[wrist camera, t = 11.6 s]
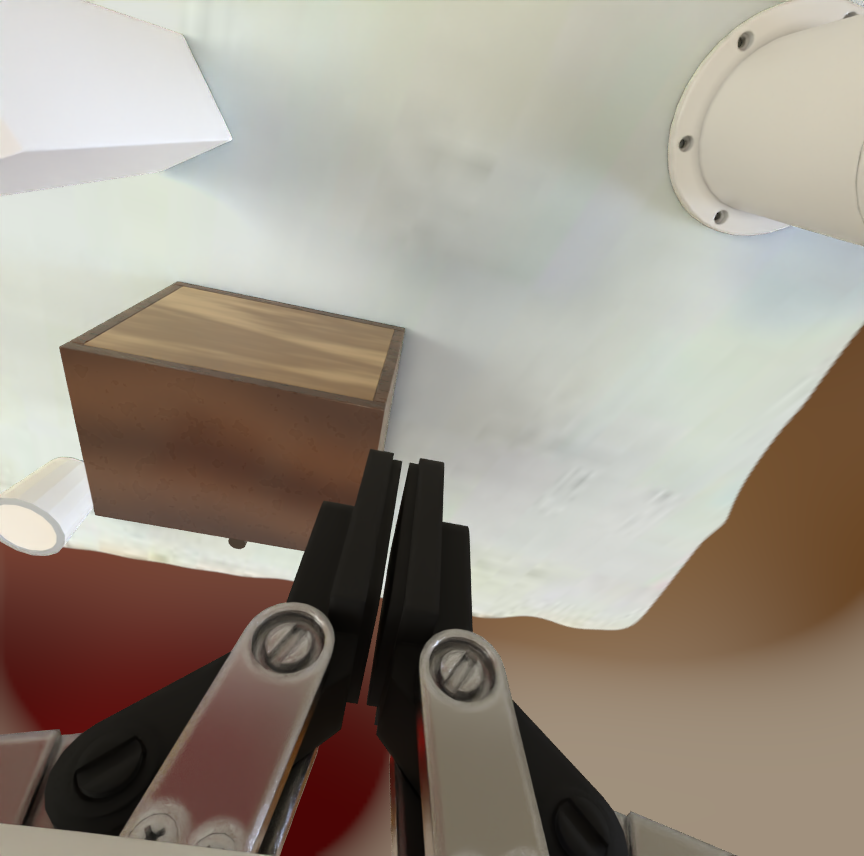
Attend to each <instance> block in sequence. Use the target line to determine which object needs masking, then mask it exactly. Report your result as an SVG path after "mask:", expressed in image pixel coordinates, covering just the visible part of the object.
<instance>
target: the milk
mask: <svg viewBox="0 0 864 856" xmlns="http://www.w3.org/2000/svg"><path fill="white" fill-rule="evenodd" d="M231 140H232V136H231V134H230V132H229V130H228V128H227V126H226V123H225V121H224V119H223V117H222V115H221V113H220V111H219V109H218V107H217V105H216V103H215V101H214V99H213V96H212V94H211V92H210V90H209V88H208V86H207V84H206V82H205V80H204V78H203V76H202V74H201V71H200V69H199V67H198V65H197V63H196V61H195V59H194V57H193V55H192V53H191V51H190V49H189V47H188V44H187V42H186V40H185V38H184V36H183V35H182V34H180V33H177V32H174V31H172V30H169V29H166V28H163V27H160V26H157V25H154V24H151V23H148V22H145V21H142V20H139V19H136V18H133V17H131V16H128V15H125V14H122V13H119V12H116V11H113V10H110V9H107V8H104V7H101V6H98V5H95V4H93V3H90V2H87V1H84V0H0V196H4V195H11V194H18V193H24V192H31V191H38V190H44V189H51V188H57V187H64V186H71V185H77V184H84V183H91V182H97V181H104V180H110V179H117V178H124V177H130V176H137V175H144V174H150V173H157V172H162V171H164V170H166V169H168V168H171V167H173V166H175V165H177V164H180V163H182V162H184V161H186V160H188V159H191V158H193V157H195V156H197V155H200V154H202V153H204V152H206V151H209V150H211V149H213V148H215V147H218V146H220V145H222V144H224V143H227V142H229V141H231Z"/></svg>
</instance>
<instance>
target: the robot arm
mask: <svg viewBox="0 0 864 856" xmlns="http://www.w3.org/2000/svg"><path fill="white" fill-rule="evenodd" d="M739 38H741V39H742V45H741V46H740V48H738V40H739ZM682 139H683V140H684V142H685V143H684V146H683V147H682V148H680V147H679V143H680V141H681V140H682ZM668 168H669V174H670V178H671V182H672V186H673V189H674V191H675V193H676V195H677V197H678V199H679V201H680V203H681V205H682V206H683V207H684V208H685V209H686V210H687V212H688V213H689V214H690V215H691V216H692V217H693V218H695V219H696V220H698V221H699V222H700V223H702V224H703V225H705V226H707V227H709V228H712V229H714V230H716V231H720V232H724V233H727V234H731V235H744V236H752V235H759V234H766V233H771V232H774V231H777V230H780V229H783V228H786V227H789V226H791V225H792V226H795V227H799V228H802V229H806V230H809V231H812V232H816V233H819V234H823V235H826V236H830V237H833V238H836V239H840V240H843V241H847V242H850V243H853V244H857V245H860V246H864V7H862V6H860V5H858V4H855V3H853V2H851V1H849V0H791V1H787V2H784V3H781V4H778V5H776V6H773V7H771V8H769V9H766V10H764V11H762V12H759V13H758V14H756V15H755V16H753V17H751V18H750V19H748V20H747V21H745V22H744V23H742V24H740V25H739V26H737V27H736V28H735V29H734V30H733V31H732V32H730V33H729V34H728V35H727V36H726V37H725V38H724V39H722V40H721V41H720V42H719V43H718V44H717V45H716V46H715V47H714V49H713V50H712V51H711V52H710V53H709V54H708V56H707V57H706V58H705V59H704V60H703V61H702V63H701V64H700V65H699V67H698V69H697V70H696V72H695V73H694V75H693V76H692V78H691V79H690V81H689V83H688V84H687V86H686V88H685V90H684V93H683V95H682V97H681V99H680V101H679V103H678V106H677V108H676V112H675V115H674V118H673V122H672V125H671V129H670V136H669V144H668ZM717 213H719V215H718V217H717V218H716V219H714V217H715V215H716V214H717ZM393 456H394V453H390V452H385V451H380V450H374V449H370V451H369V454H368V458H367V462H366V466H365V469H364V473H363V477H362V481H361V484H360V488H359V492H358V495H357V499H356V503H355V506H351V505H346V504H340V503H335V502H329V501H323V503H322V505H321V507H320V510H319V513H318V516H317V518H316V521H315V524H314V527H313V529H312V532H311V535H310V538H309V541H308V543H307V546H306V549H305V552H304V555H303V557H302V560H301V563H300V566H299V569H298V571H297V574H296V577H295V580H294V583H293V586H292V589H291V591H290V594H289V597H288V600H287V602H286V603H280V604H278V605H275V606H272V607H269V608H267V609H265V610H264V611H263V612H261V613H259V614H258V615H257V616H255V617H254V619H253V620H252V621H251V622H250V623H249V625H248V626H247V627H246V629H245V630H244V632H243V634H242V635H241V637H240V639H239V640H238V642H237V643H236V645H235V647H234V649H233V650H232V651H231V652H229V653H227V654H225V655H224V656H222V657H220V658H218V659H216V660H215V661H212V662H211V663H209V664H207V665H205V666H203V667H201V668H199V669H198V670H196V671H194V672H192V673H190V674H188V675H186V676H185V677H183V678H181V679H179V680H177V681H175V682H173V683H172V684H170V685H168V686H166V687H164V688H162V689H160V690H158V691H157V692H155V693H153V694H151V695H149V696H147V697H146V698H144V699H142V700H140V701H138V702H136V703H134V704H132V705H130V706H129V707H127V708H125V709H123V710H121V711H119V712H117V713H116V714H114V715H112V716H110V717H108V718H106V719H104V720H103V721H101V722H99V723H97V724H95V725H94V726H92V727H91V728H90V729H88V730H87V731H85V732H84V733H81V734H72V735H61V733H60V730H47V731H36V732H26V733H15V734H5V735H0V856H279V855H280V852H281V849H282V847H283V844H284V841H285V838H286V836H287V833H288V830H289V828H290V825H291V822H292V819H293V816H294V814H295V811H296V808H297V806H298V803H299V800H300V798H301V795H302V792H303V789H304V787H305V784H306V781H307V779H308V776H309V773H310V770H311V767H312V765H313V762H314V760H315V757H316V754H317V750H318V746H319V745H321V744H322V743H323V742H325V741H326V740H327V739H329V738H330V737H331V736H333V735H334V734H335V733H337V732H338V731H339V730H340V729H341V727H342V721H343V716H344V711H345V706H346V702H350V703H356V704H357V703H358V699H359V695H360V690H361V686H362V681H363V676H364V672H365V667H366V662H367V658H368V653H369V648H370V644H371V639H372V634H373V630H374V625H375V621H376V616H377V611H378V606H379V600H380V595H381V590H382V584H383V578H384V571H385V565H386V559H387V553H388V547H389V540H390V534H391V528H392V522H393V516H394V509H395V503H396V497H397V491H398V485H399V479H400V472H401V466H402V461H398V460H393ZM443 489H444V462H438V461H433V460H428V459H422V458H420V461H419V464H414V463H410V464H409V468H408V473H407V477H406V482H405V487H404V491H403V496H402V500H401V505H400V510H399V514H398V519H397V524H396V528H395V533H394V537H393V542H392V547H391V552H390V557H389V563H388V569H387V576H386V582H385V588H384V595H383V601H382V608H381V615H380V621H379V628H378V633H377V640H376V647H375V653H374V659H373V666H372V672H371V678H370V685H369V691H368V698H367V705H369V706H376V707H377V710H376V717H375V725H378V726H377V736H378V737H379V739H380V740H381V742H382V743H383V744H384V746H385V747H386V749H387V750H388V752H389V753H390V761H389V772H390V773H389V774H390V806H391V808H390V809H391V845H392V856H736V855H734V854H732V853H729V852H727V851H725V850H722V849H720V848H717V847H715V846H713V845H710V844H708V843H705V842H703V841H700V840H698V839H696V838H694V837H691V836H689V835H686V834H684V833H682V832H679V831H677V830H674V829H672V828H670V827H667V826H665V825H663V824H660V823H658V822H655V821H653V820H651V819H648V818H646V817H643V816H641V815H639V814H636V813H634V812H630V813H629V814H628V815H627V816H626V815H623V814H621V813H618V812H616V811H614V810H612V808H611V807H610V806H609V804H608V803H607V802H606V800H605V799H604V798H603V796H602V795H601V794H600V793H599V792H598V791H597V790H596V789H595V788H594V787H593V786H592V785H591V784H590V782H589V781H588V780H587V779H586V778H585V777H584V776H583V775H582V774H581V773H580V772H579V771H578V770H577V769H576V768H575V766H573V764H572V763H571V762H570V761H569V760H568V759H567V758H566V757H565V756H564V755H563V753H561V752H560V750H559V749H558V748H557V747H556V746H555V745H554V744H553V743H552V742H551V741H550V740H549V738H548V737H546V735H545V734H544V733H543V732H542V731H541V730H540V729H539V728H538V727H537V726H536V725H535V723H534V722H533V721H532V720H531V719H530V718H529V717H528V716H527V715H526V714H525V713H524V712H523V711H522V709H520V707H519V706H518V705H517V704H516V703H515V702H514V701H513V700H512V697H511V693H510V689H509V685H508V681H507V676H506V672H505V668H504V666H503V663H502V660H501V658H500V656H499V654H498V653H497V652H496V650H495V649H494V648H493V647H492V645H491V644H489V643H488V642H487V641H486V640H485V639H484V638H482V637H481V636H479V635H477V634H475V633H473V629H472V598H471V567H470V536H469V528H468V526H463V525H457V524H452V523H446V522H442V517H443Z"/></svg>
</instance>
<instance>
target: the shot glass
mask: <svg viewBox="0 0 864 856" xmlns="http://www.w3.org/2000/svg"><path fill="white" fill-rule="evenodd" d="M92 508H93V502H92V498H91V493H90V488H89V484H88V479H87V474H86V470H85V465H84V462H83V461H80V460H77V459H74V458H68V457H59V458H56V459H54V460H51V461H50V462H48V463H47V464H45V465H44V466H42V467H41V468H39V469H38V470H36V471H35V472H33V473H32V474H30V475H28V476H27V477H25V478H24V479H22V480H21V481H19V482H18V483H16V484H15V485H13V486H12V487H10V488H9V489H7V490H6V491H4V492H3V493H1V494H0V541H1V542H2V543H4V544H6V545H8V546H10V547H12V548H13V549H15V550H17V551H21V552H24V553H27V554H31V555H42V556H44V555H45V556H48V555H51V554H54V553H57V552H59V551H60V550H61V548H62V547H63V546H64V545H65V544H66V542H67V541H68V540H69V539H70V537H71V536H72V535H73V533H74V532H75V531H76V529H77V528H78V527H79V525H80V524H81V523H82V522H83V520H84V519H85V518H86V516H87V515H88V514H89V512H90V511H91V510H92Z"/></svg>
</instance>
